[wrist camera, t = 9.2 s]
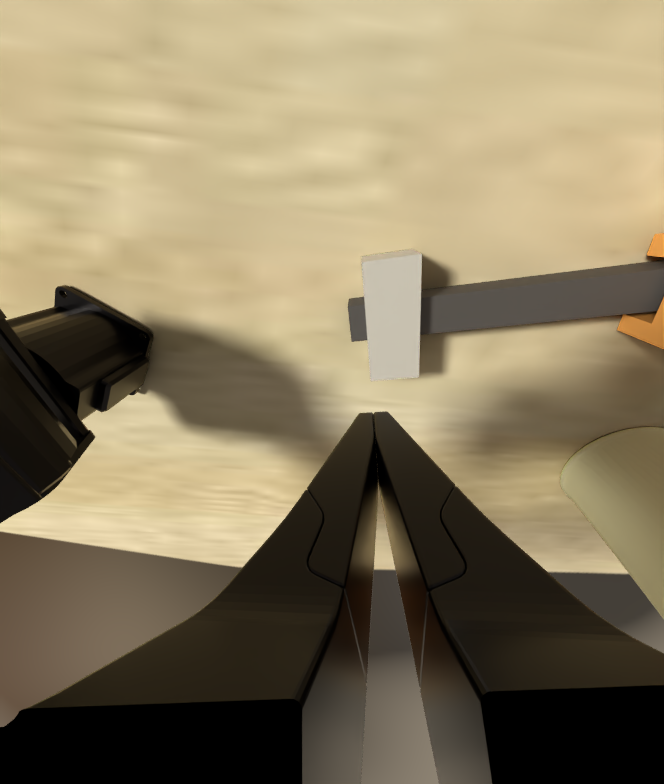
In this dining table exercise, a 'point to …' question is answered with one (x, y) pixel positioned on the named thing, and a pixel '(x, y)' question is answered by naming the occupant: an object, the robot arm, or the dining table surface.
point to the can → (625, 500)
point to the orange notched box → (647, 326)
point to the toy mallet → (482, 304)
